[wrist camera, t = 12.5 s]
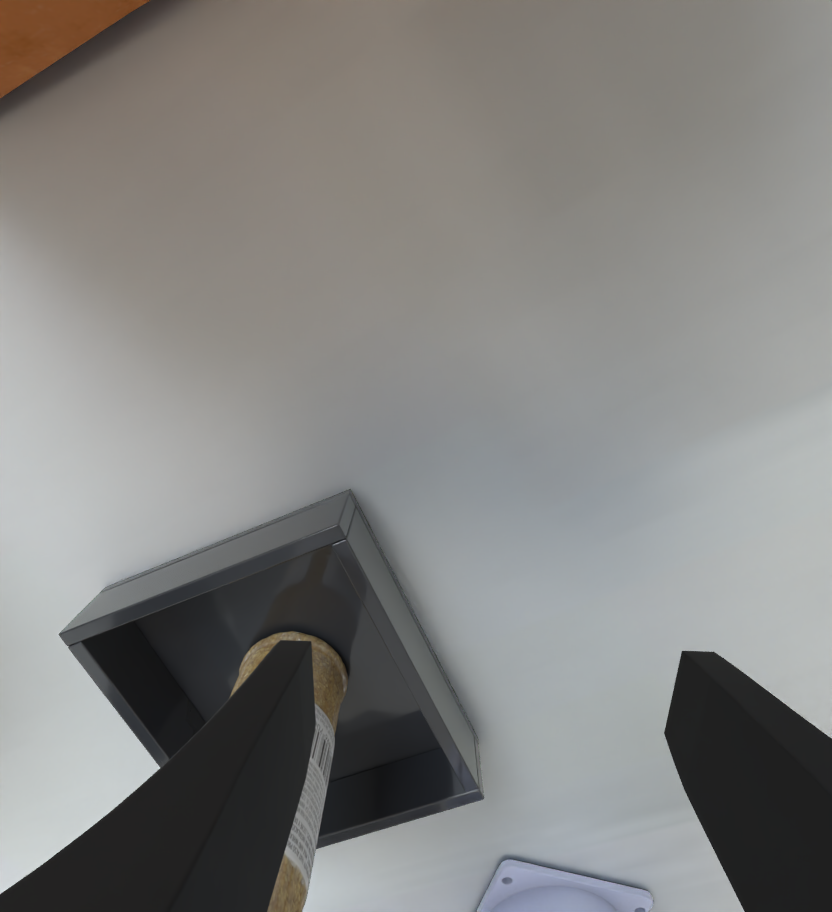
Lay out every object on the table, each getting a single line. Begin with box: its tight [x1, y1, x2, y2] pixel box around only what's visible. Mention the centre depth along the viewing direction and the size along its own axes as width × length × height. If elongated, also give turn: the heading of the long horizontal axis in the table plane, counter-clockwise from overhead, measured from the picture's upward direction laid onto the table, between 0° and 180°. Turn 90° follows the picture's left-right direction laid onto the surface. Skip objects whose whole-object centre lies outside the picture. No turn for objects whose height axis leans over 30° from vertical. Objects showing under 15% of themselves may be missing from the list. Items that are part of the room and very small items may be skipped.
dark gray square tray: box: [59, 489, 484, 849], centre depth 22 cm, size 13×11×3 cm
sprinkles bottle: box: [229, 631, 348, 912], centre depth 17 cm, size 5×5×13 cm
